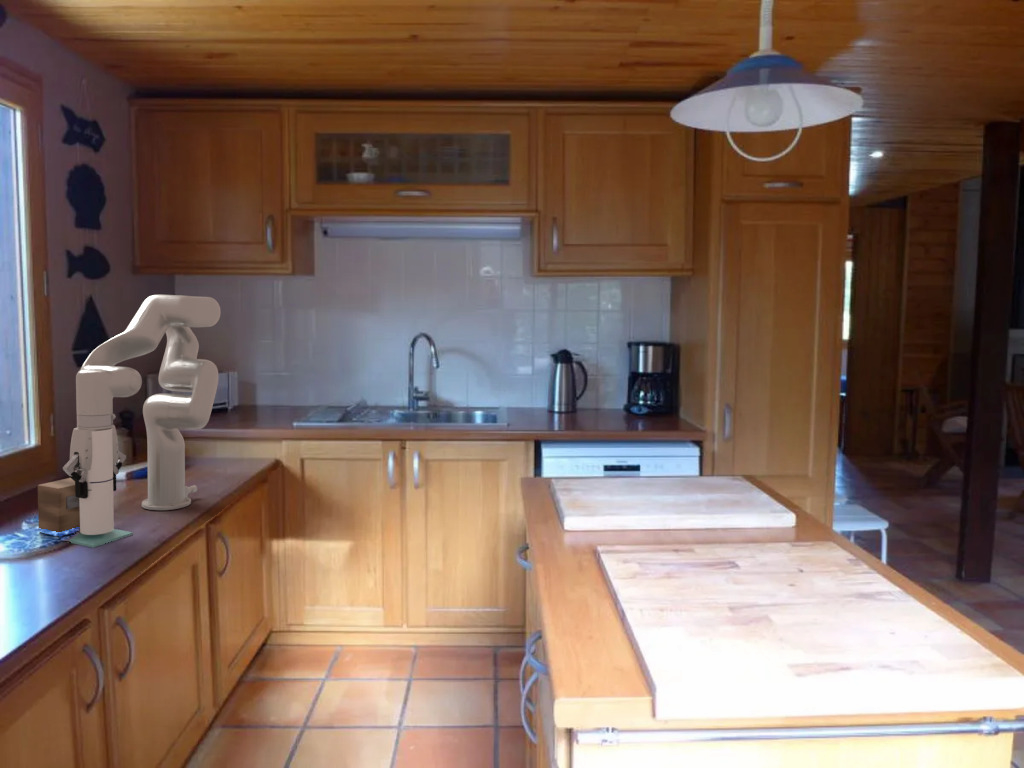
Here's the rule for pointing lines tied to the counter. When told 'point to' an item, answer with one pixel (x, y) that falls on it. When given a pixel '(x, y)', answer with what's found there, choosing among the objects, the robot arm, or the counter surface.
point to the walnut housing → (58, 505)
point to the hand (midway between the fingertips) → (96, 493)
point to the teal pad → (99, 538)
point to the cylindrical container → (99, 487)
